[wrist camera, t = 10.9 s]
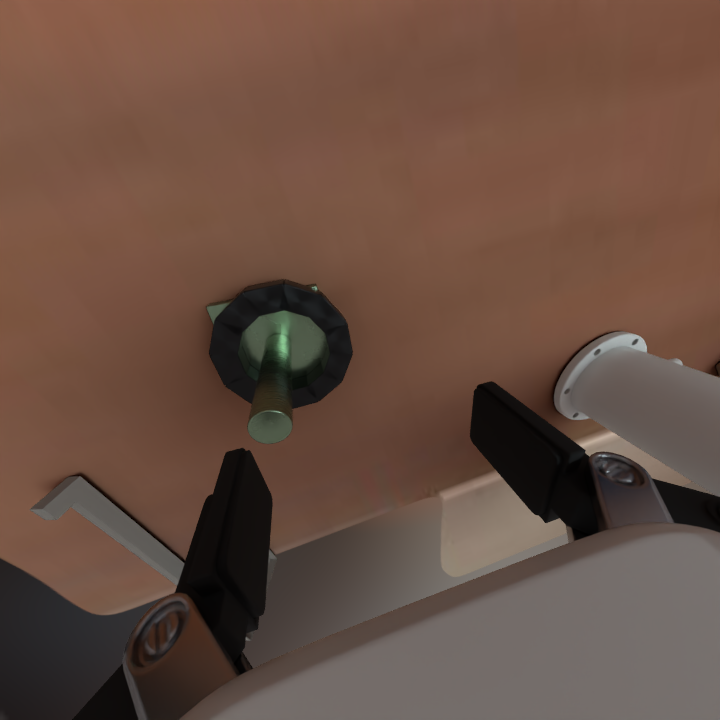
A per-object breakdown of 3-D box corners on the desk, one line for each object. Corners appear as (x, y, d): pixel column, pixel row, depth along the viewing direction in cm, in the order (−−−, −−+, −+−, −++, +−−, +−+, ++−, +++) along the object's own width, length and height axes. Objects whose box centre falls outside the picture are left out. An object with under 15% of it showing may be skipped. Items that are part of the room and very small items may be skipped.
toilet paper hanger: (101, 448, 25) (2, 532, 18) (182, 441, 23) (103, 531, 17) (216, 558, 36) (178, 634, 29) (277, 559, 34) (251, 640, 28)
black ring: (333, 268, 19) (337, 272, 17) (355, 380, 24) (360, 390, 22) (192, 297, 18) (183, 304, 16) (245, 409, 22) (242, 423, 21)
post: (315, 283, 20) (339, 330, 11) (334, 370, 24) (363, 462, 14) (209, 303, 19) (127, 376, 9) (246, 391, 23) (214, 506, 13)
